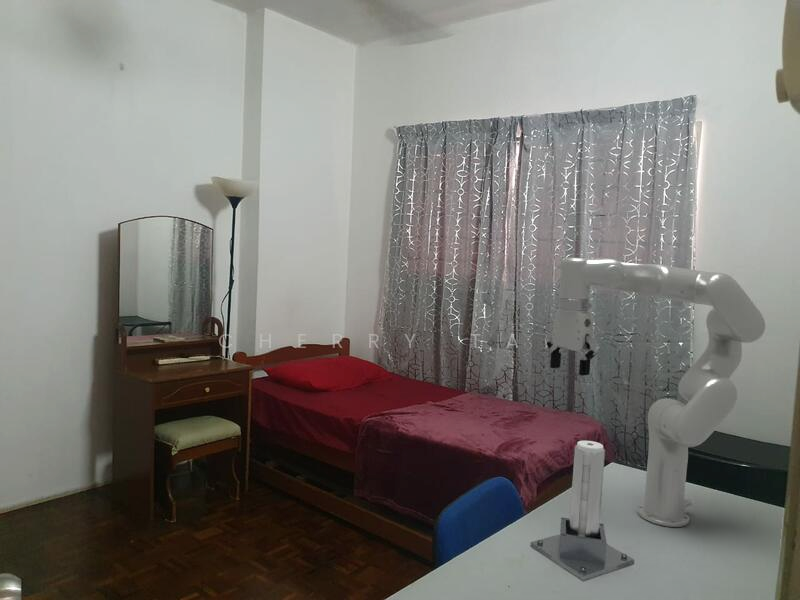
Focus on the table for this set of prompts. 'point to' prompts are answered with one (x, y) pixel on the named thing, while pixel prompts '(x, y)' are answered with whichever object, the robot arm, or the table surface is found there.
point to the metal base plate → (582, 553)
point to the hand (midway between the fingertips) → (569, 371)
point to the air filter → (587, 489)
